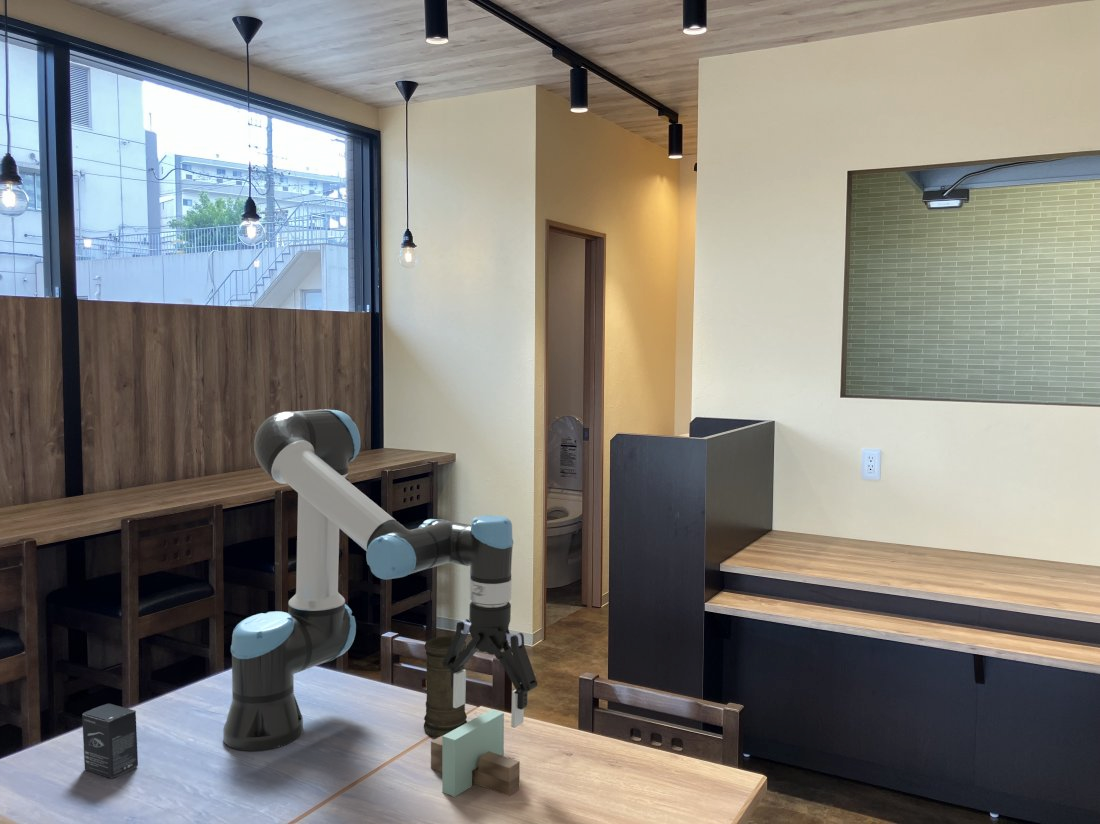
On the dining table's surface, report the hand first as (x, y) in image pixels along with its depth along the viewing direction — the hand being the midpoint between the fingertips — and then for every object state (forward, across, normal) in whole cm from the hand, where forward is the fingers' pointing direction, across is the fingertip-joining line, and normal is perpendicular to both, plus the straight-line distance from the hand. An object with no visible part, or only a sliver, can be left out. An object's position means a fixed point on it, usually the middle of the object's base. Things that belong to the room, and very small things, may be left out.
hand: (487, 715), depth 155 cm
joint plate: (+10, +1, -4) cm, 11 cm away
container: (+11, -17, +8) cm, 22 cm away
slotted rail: (+10, +1, -4) cm, 11 cm away
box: (+12, -56, -40) cm, 70 cm away
